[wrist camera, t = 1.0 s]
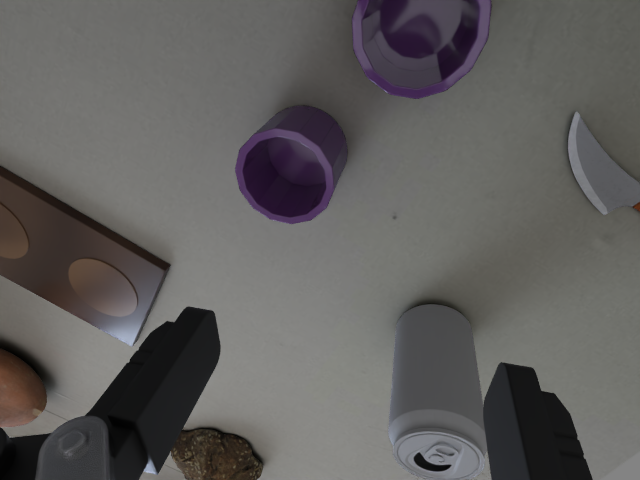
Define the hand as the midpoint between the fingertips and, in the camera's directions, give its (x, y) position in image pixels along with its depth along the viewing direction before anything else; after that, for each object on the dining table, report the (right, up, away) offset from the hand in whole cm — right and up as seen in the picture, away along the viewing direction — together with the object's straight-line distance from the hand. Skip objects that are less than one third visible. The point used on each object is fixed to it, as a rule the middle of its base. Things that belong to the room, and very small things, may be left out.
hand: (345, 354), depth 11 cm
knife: (+19, +6, +14) cm, 24 cm away
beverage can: (+9, -4, +24) cm, 26 cm away
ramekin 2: (+5, +16, +12) cm, 20 cm away
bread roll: (-15, -27, +45) cm, 54 cm away
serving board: (-28, +2, +29) cm, 40 cm away
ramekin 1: (-2, +10, +17) cm, 20 cm away
